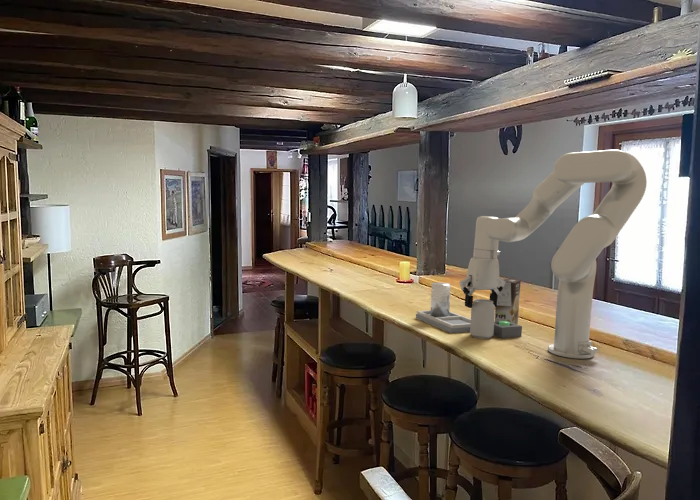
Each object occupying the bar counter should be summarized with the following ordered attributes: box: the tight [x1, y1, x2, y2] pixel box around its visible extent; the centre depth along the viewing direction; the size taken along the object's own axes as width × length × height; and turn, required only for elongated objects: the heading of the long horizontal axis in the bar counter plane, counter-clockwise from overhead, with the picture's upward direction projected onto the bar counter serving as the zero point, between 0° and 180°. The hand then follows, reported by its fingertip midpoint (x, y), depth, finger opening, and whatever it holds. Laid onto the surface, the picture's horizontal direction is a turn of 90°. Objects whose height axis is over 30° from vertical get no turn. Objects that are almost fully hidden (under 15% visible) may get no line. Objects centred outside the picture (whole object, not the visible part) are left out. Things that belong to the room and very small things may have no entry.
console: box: [493, 320, 523, 339], centre depth 178 cm, size 8×8×4 cm
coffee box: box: [494, 278, 522, 325], centre depth 193 cm, size 9×6×16 cm
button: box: [499, 321, 510, 326], centre depth 178 cm, size 3×3×3 cm
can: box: [469, 298, 495, 340], centre depth 174 cm, size 8×8×12 cm
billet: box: [430, 281, 452, 317], centre depth 195 cm, size 7×7×12 cm
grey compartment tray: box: [415, 309, 471, 334], centre depth 191 cm, size 23×13×3 cm, turn 23°
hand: (480, 306), depth 174 cm, fingers open, 9 cm apart
